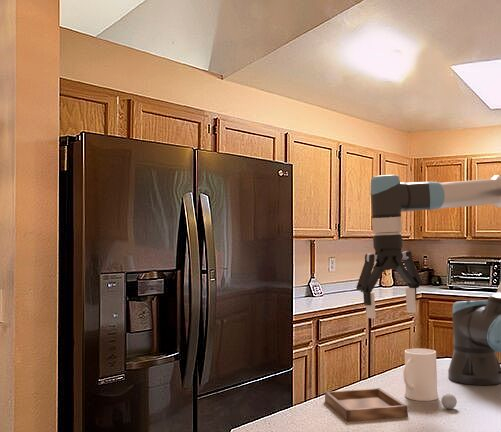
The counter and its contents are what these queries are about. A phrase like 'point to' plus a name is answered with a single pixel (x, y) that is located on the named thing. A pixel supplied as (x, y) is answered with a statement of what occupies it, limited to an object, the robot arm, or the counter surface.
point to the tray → (365, 404)
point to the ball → (449, 401)
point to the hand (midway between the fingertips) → (391, 315)
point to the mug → (420, 374)
